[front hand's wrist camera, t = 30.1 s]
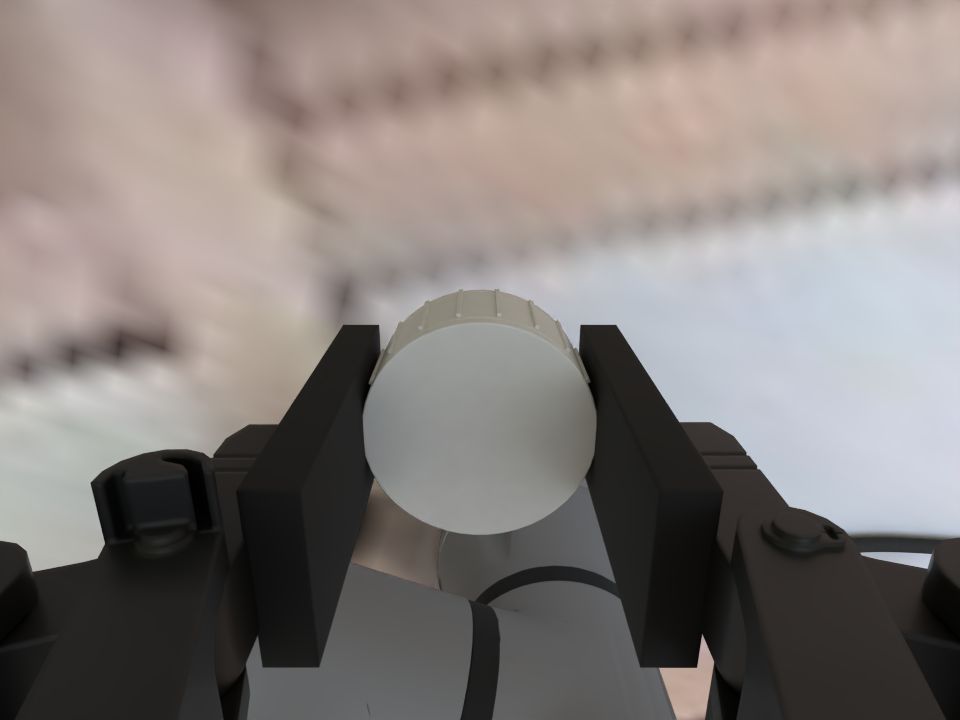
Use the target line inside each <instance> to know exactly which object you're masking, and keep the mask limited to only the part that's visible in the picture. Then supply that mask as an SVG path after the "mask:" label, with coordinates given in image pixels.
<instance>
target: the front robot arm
mask: <svg viewBox="0 0 960 720" xmlns="http://www.w3.org/2000/svg"><path fill="white" fill-rule="evenodd" d="M380 354H381V351H380V334H379V325H343V326H342V328H341V330H340V331H339V333H338V334H337V336H336V337H335V339H334V340H333V342H332V343H331V345H330V346H329V348H328V350H327V351H326V353H325V354H324V356H323V357H322V359H321V360H320V362H319V363H318V365H317V366H316V368H315V370H314V371H313V373H312V374H311V376H310V377H309V379H308V380H307V382H306V383H305V385H304V387H303V388H302V390H301V391H300V393H299V394H298V396H297V397H296V399H295V400H294V402H293V403H292V405H291V407H290V408H289V410H288V411H287V413H286V414H285V416H284V417H283V419H282V420H281V422H280V424H279V425H248V426H246V427H244V428H243V429H241V430H239V431H238V432H236V433H234V434H233V435H231V436H229V437H228V438H226V439H225V441H224V442H223V443H222V445H221V446H220V447H219V448H218V450H217V451H216V452H215V453H214V457H213V458H209V457H208V456H207V455H205V454H204V453H201V452H197V451H192V450H188V449H174V450H161V451H155V452H150V453H144V454H141V455H138V456H135V457H132V458H129V459H126V460H123V461H120V462H118V463H117V464H115V465H113V466H111V467H109V468H107V469H106V470H104V471H102V472H101V473H100V474H99V475H98V476H97V477H96V478H95V479H94V480H93V481H92V482H91V487H92V491H93V495H94V499H95V503H96V507H97V512H98V516H99V520H100V524H101V528H102V532H103V537H104V541H105V545H104V547H103V549H102V551H101V553H100V555H99V557H98V559H94V560H90V561H86V562H82V563H77V564H72V565H67V566H62V567H56V568H51V569H46V570H41V571H36V572H32V568H31V565H30V562H29V558H28V555H27V551H25V550H24V549H23V548H22V547H21V546H19V545H18V544H17V543H10V542H4V541H0V720H677V719H676V716H675V713H674V710H673V707H672V705H671V702H670V699H669V696H668V693H667V690H666V687H665V684H664V681H663V678H662V676H661V673H660V670H659V668H697V664H698V658H699V651H700V644H701V638H702V634H703V636H704V639H705V641H706V643H707V646H708V648H709V650H710V653H711V655H712V657H713V660H714V668H713V674H712V680H711V686H710V692H709V698H708V704H707V711H706V717H705V720H960V538H955V539H949V540H943V541H940V540H923V539H905V538H858V539H851V538H850V537H849V535H848V534H847V533H846V532H845V531H844V530H843V529H842V528H840V527H839V526H837V525H835V524H834V523H832V522H831V521H829V520H828V519H826V518H824V517H821V516H819V515H816V514H814V513H811V512H809V511H806V510H802V509H797V508H792V507H789V506H788V504H787V503H786V502H785V501H784V499H783V498H782V497H781V496H780V494H779V493H778V492H777V490H776V489H775V488H774V487H773V485H772V484H771V483H770V482H769V480H768V479H767V478H766V477H765V475H764V474H763V473H762V471H761V470H760V469H757V465H756V464H755V463H754V461H753V460H752V459H751V458H750V456H747V455H746V451H745V450H744V449H743V447H742V446H741V445H740V444H739V442H738V441H737V440H736V439H735V437H734V436H732V435H731V434H729V433H727V432H726V431H724V430H722V429H721V428H719V427H718V426H716V425H714V424H713V423H711V422H679V421H678V420H677V418H676V417H675V415H674V413H673V412H672V410H671V409H670V407H669V406H668V404H667V403H666V401H665V400H664V398H663V397H662V395H661V393H660V392H659V390H658V389H657V387H656V386H655V384H654V383H653V381H652V380H651V378H650V376H649V375H648V373H647V372H646V370H645V369H644V367H643V366H642V364H641V363H640V361H639V360H638V358H637V356H636V355H635V353H634V352H633V350H632V349H631V347H630V346H629V344H628V343H627V341H626V339H625V338H624V336H623V335H622V333H621V332H620V330H619V329H618V327H617V326H616V325H581V326H580V344H579V355H580V358H581V360H582V362H583V365H584V367H585V370H586V372H587V374H588V377H589V379H590V383H587V384H588V386H589V389H590V391H591V393H592V396H593V399H594V403H595V407H596V411H597V424H596V439H595V452H594V457H593V460H592V463H591V466H590V468H589V470H588V472H587V474H586V476H585V478H584V479H583V481H582V482H581V484H580V485H579V487H578V488H577V489H576V491H575V492H574V493H573V494H572V495H571V496H570V497H569V499H568V500H567V501H566V502H565V503H563V504H562V505H561V506H560V507H559V508H557V509H556V510H555V511H553V512H552V513H550V514H549V515H547V516H546V517H544V518H543V519H541V520H539V521H537V522H535V523H533V524H531V525H528V526H525V527H522V528H520V529H517V530H512V531H508V532H504V533H497V534H489V535H472V534H462V533H456V532H451V531H446V530H443V532H442V535H441V539H440V544H439V554H438V565H437V576H438V583H439V587H440V590H437V589H434V588H431V587H427V586H424V585H421V584H418V583H415V582H411V581H408V580H405V579H402V578H399V577H396V576H392V575H389V574H386V573H383V572H380V571H376V570H373V569H370V568H367V567H364V566H360V565H357V564H354V563H351V562H350V560H351V557H352V553H353V550H354V546H355V543H356V539H357V536H358V532H359V529H360V526H361V522H362V519H363V515H364V512H365V508H366V505H367V501H368V498H369V495H370V491H371V488H372V484H373V481H374V477H375V476H374V475H373V473H372V471H371V469H370V466H369V464H368V461H367V459H366V455H365V445H364V431H363V409H364V404H365V401H366V398H367V395H368V392H369V390H370V387H371V385H370V384H368V383H369V381H370V378H371V376H372V373H373V371H374V369H375V366H376V364H377V361H378V359H379V356H380ZM860 552H907V553H926V554H932V556H931V560H930V563H929V566H928V569H924V568H919V567H914V566H909V565H904V564H898V563H893V562H888V561H883V560H878V559H873V558H869V557H866V556H862V555H861V554H860ZM435 580H436V579H435ZM436 583H437V582H436ZM437 586H438V584H437ZM439 587H438V589H439Z"/></svg>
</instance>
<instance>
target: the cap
mask: <svg viewBox="0 0 960 720" xmlns="http://www.w3.org/2000/svg"><path fill="white" fill-rule="evenodd" d="M587 383H590V379H589V377H588V374H587V372H586V370H585V367H584V365H583V362H582V360H581V358H580V355H579V353H578V350H577V348H575V349H573V346H572V344H571V342H570V341H569V339H568V337H567V335H566V334H565V332H564V331H563V329H562V327H561V324H560V322H559V321H558V320H557V321H554V320H553V319H552V318H551V317H550V316H549V315H548V314H547V313H546V312H544V311H543V310H542V309H540V308H539V307H537V306H536V305H534V304H533V301H531V300H529V301H527V300H525V299H522V298H519V297H517V296H514V295H511V294H507V293H503V292H499V290H498V289H495V291H490V290H468V291H463V289H462V290H459V292H456V293H452V294H449V295H445V296H442V297H440V298H438V299H435V300H433V301H431V302H429V301H427V302H425V305H424V306H422V307H421V308H419V309H418V310H417V311H415V312H414V313H413V314H412V315H410V316H409V317H408V318H407V319H406V320H405V321H404V322H403V323H402V322H400V323H399V324H398V326H397V329H396V332H395V333H394V335H393V336H392V338H391V340H390V342H389V344H388V345H387V347H386V350H383V349H382V352H381V354H380V356H379V359H378V361H377V364H376V366H375V369H374V371H373V373H372V376H371V378H370V381H369V383H368V384H370V385H371V387H370V390H369V392H368V395H367V398H366V401H365V404H364V409H363V431H364V445H365V455H366V459H367V461H368V464H369V466H370V469H371V471H372V473H373V475H374V476H375V478H376V480H377V482H378V483H379V485H380V486H381V487H382V489H383V490H384V491H385V493H386V494H387V495H388V496H389V497H390V498H391V499H392V500H393V501H394V502H395V503H396V504H397V505H398V506H400V507H401V508H402V509H403V510H405V511H406V512H407V513H409V514H411V515H412V516H414V517H415V518H417V519H419V520H421V521H423V522H425V523H427V524H429V525H431V526H434V527H437V528H440V529H443V530H446V531H451V532H456V533H462V534H472V535H489V534H497V533H504V532H508V531H512V530H517V529H520V528H522V527H525V526H528V525H531V524H533V523H535V522H537V521H539V520H541V519H543V518H544V517H546V516H547V515H549V514H550V513H552V512H553V511H555V510H556V509H557V508H559V507H560V506H561V505H562V504H563V503H565V502H566V501H567V500H568V499H569V497H570V496H571V495H572V494H573V493H574V492H575V491H576V489H577V488H578V487H579V485H580V484H581V482H582V481H583V479H584V478H585V476H586V474H587V472H588V470H589V468H590V466H591V463H592V460H593V457H594V452H595V439H596V424H597V411H596V407H595V403H594V399H593V396H592V393H591V391H590V389H589V386H588V384H587Z"/></svg>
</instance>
